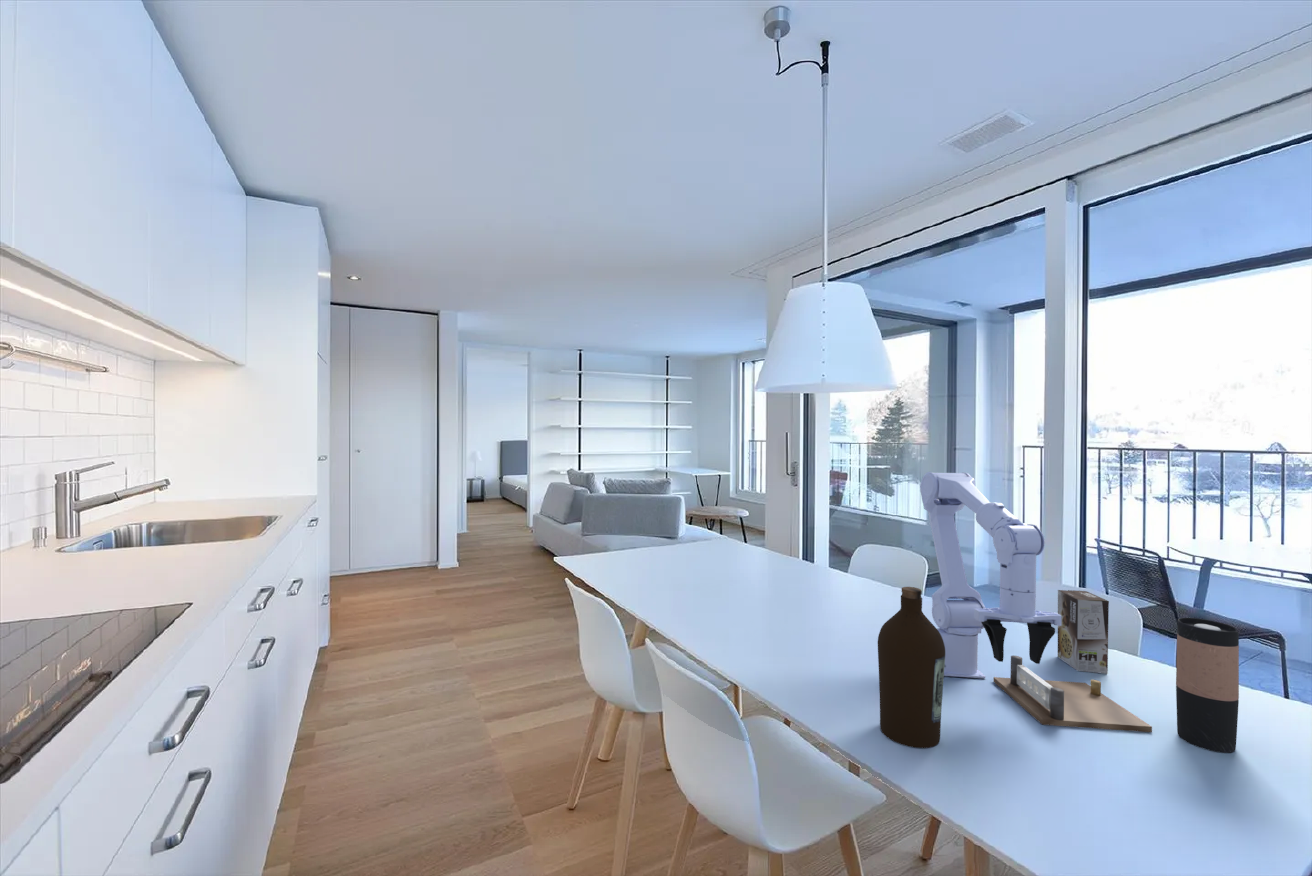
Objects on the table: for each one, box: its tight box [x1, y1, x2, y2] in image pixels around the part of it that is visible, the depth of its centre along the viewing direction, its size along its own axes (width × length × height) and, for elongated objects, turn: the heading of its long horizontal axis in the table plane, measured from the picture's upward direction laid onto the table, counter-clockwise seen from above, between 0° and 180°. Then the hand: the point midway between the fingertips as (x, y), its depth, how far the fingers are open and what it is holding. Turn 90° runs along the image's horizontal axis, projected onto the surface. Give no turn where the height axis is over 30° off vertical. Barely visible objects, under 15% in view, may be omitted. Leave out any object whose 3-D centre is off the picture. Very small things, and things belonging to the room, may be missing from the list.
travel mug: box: [1175, 617, 1240, 754], centre depth 96 cm, size 8×8×20 cm
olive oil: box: [877, 586, 945, 749], centre depth 96 cm, size 11×11×25 cm
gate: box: [1017, 664, 1052, 710], centre depth 108 cm, size 11×1×4 cm, turn 173°
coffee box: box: [1057, 589, 1110, 675], centre depth 128 cm, size 9×6×16 cm
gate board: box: [993, 655, 1153, 733], centre depth 108 cm, size 18×18×6 cm
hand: (1016, 660), depth 106 cm, fingers open, 6 cm apart
